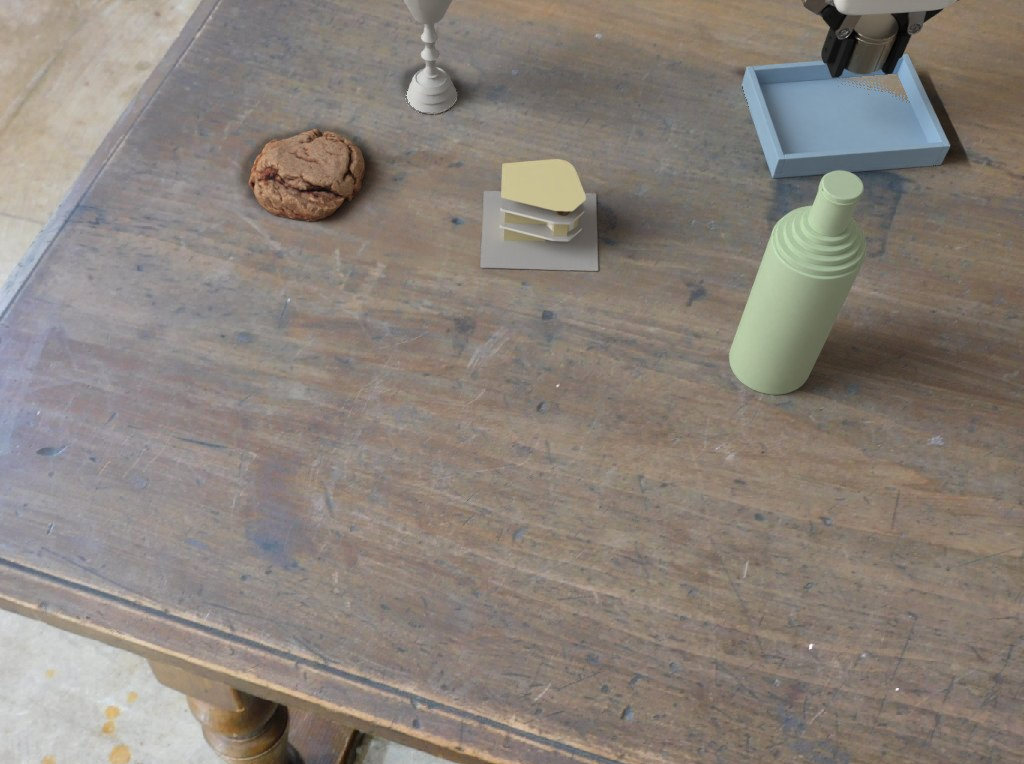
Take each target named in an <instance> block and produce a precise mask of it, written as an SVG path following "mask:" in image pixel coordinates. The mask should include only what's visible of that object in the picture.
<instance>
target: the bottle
mask: <svg viewBox="0 0 1024 764" xmlns="http://www.w3.org/2000/svg"><path fill="white" fill-rule="evenodd" d="M864 193H865V189H864V182H863V181H862V180H861V178H860V177H859V176H858V175H856V174H855V173H854V172H848V171H841V170H838V171H832V172H830V173H827V174H823V176H822V177H821V179H820V182H819V185H818V190H817V193H816V196H815V198H814V201H813V202H812V205H805V206H801V207H797V208H795V209H792V210H790V211H788V213H786V214H785V215H784V216H782V217H781V218H780V219H779V220H778V221H777V222H776V223H775V225H774V227H773V228H772V231H771V233H770V236H769V238H768V242H767V245H766V248H765V251H764V254H763V256H762V259H761V261H760V264H759V268H758V270H757V272H756V276H755V279H754V281H753V285H752V287H751V289H750V293H749V296H748V298H747V301H746V304H745V307H744V309H743V313H742V316H741V317H740V321H739V324H738V327H737V329H736V332H735V335H734V338H733V341H732V344H731V346H730V350H729V352H728V353H729V354H728V361H729V365H730V368H731V371H732V372H733V374H734V376H735V377H736V379H738V380H739V381H740V382H741V383H742V384H743V385H744V386H745V387H747V388H749V389H751V390H753V391H755V392H758V393H761V394H765V395H773V396H774V395H778V396H780V395H785V394H789V393H792V392H795V391H796V390H799V389H800V388H802V386H803V385H805V383H806V382H807V381H808V379H809V378H810V375H811V373H812V372H813V369H814V367H815V364H816V362H817V361H818V359H819V356H820V354H821V352H822V350H823V347H824V346H825V344H826V341H827V339H828V337H829V335H830V333H831V331H832V329H833V327H834V325H835V323H836V321H837V319H838V317H839V315H840V312H841V310H842V308H843V306H844V304H845V302H846V300H847V297H848V296H849V293H850V291H851V290H852V287H853V285H854V283H855V281H856V279H857V277H858V275H859V272H860V270H861V269H862V267H863V264H864V262H865V261H866V257H867V250H868V248H867V241H866V236H865V233H864V230H863V229H862V228H861V226H860V225H859V224H858V223H857V222H856V220H854V219H853V218H852V217H853V216H854V213H855V211H856V209H857V206H858V204H859V202H860V200H862V198H863V196H864Z"/></svg>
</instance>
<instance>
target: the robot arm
mask: <svg viewBox="0 0 1024 764" xmlns="http://www.w3.org/2000/svg"><path fill="white" fill-rule="evenodd" d="M959 1H960V0H801V2H802V5H803V7H804V8H805V9H806V10H808V11H810V12H811V13H813V14H814V15H816V16H819V17H821V18H822V20H823V21H824V22H825V23H826V25H827V26H829V28H828V31H827V34H826V36H825V40H824V42H823V46H822V48H821V52H820V53H821V55H820V56H821V61H823V63H824V64H827V67H828V69H829V72H830V74H831V77H832V78H839V77H840V76H841V75H842V73H843V71H844V68H845V65H846V63H847V60H848V58H849V55H850V52H851V50H852V47H853V45H854V38H853V35H852V34H851V33H852V31H853V30H854V28H855V26H856V24H857V23H858V21H859V19H860V17H861V16H862V15H876V14H890V15H892V16H893V17H894V18H895V19H896V21H897V22H898V26H899V29H898V32H897V34H896V38H895V41H894V43H893V45H892V48H891V50H890V52H889V54H888V57H887V59H886V61H885V63H884V64H883V66H882V68H881V70H882V72H883V73H885V74H892V73H893V71H894V69H895V67H896V65H897V62H898V60H899V59H900V58H902V56H903V54H905V51H906V49H907V47H908V45H909V42H910V40H911V38H912V36H913V35H917V34H918V33H920V32H921V30H923V26H924V23H927V21H929V20H931V19H932V18H933V17H935V16H937V15H938V14H940V13H941V12H942V11H943V10H945V8H946V9H947V8H948V7H950V6H952V5H954V4H955V3H957V2H959Z"/></svg>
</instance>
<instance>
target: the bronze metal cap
mask: <svg viewBox="0 0 1024 764" xmlns="http://www.w3.org/2000/svg"><path fill="white" fill-rule="evenodd" d="M898 29H899V26H898V22H897V21H896V19H895V18H894V17H893V16H892V15H890V14H876V15H862V16H861V17H860V19H859V21H858V23H857V24H856V26H855V28H854V30H853V31H852V33H851V34H852V35H853V38H854V45H853V47H852V50H851V52H850V55H849V58H848V60H847V63H846V65H845V69H846V70H848V71H850V72H852V73H855V74H860V75H869V74H873V73H876V72H877V71H879V70H880V69H881V68H882V66H883V64H884V63H885V61H886V59H887V57H888V54H889V52H890V50H891V48H892V45H893V43H894V41H895V38H896V34H897V32H898Z"/></svg>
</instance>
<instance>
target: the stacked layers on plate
mask: <svg viewBox="0 0 1024 764" xmlns="http://www.w3.org/2000/svg"><path fill="white" fill-rule="evenodd" d="M500 187H501V188H500V190H483V197H482V198H483V199H482V201H483V202H482V218H481V219H482V221H481V241H480V242H481V243H480V261H479V263H480V264H479V266H480V267H479V268H481V269H511V270H512V269H513V270H515V269H516V270H547V271H548V270H549V271H584V272H599V248H598V247H599V246H598V212H597V211H598V210H597V193H595V192H585V189H584V188H583V185H582V183H581V180H580V177H579V175H578V172H577V170H576V168H575V166H574V165H573V164H572V163H570V162H568V161H567V160H564V159H560V158H559V159H558V158H550V159H540V160H539V159H538V160H528V161H516V162H505V163H501V184H500Z"/></svg>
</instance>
